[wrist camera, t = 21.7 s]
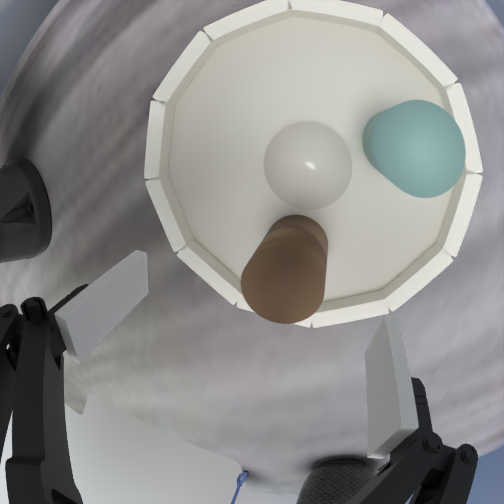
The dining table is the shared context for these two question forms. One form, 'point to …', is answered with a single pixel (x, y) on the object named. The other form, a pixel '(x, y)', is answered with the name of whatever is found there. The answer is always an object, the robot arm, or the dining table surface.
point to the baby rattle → (239, 484)
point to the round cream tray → (304, 151)
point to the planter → (335, 482)
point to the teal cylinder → (416, 147)
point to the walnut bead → (287, 271)
